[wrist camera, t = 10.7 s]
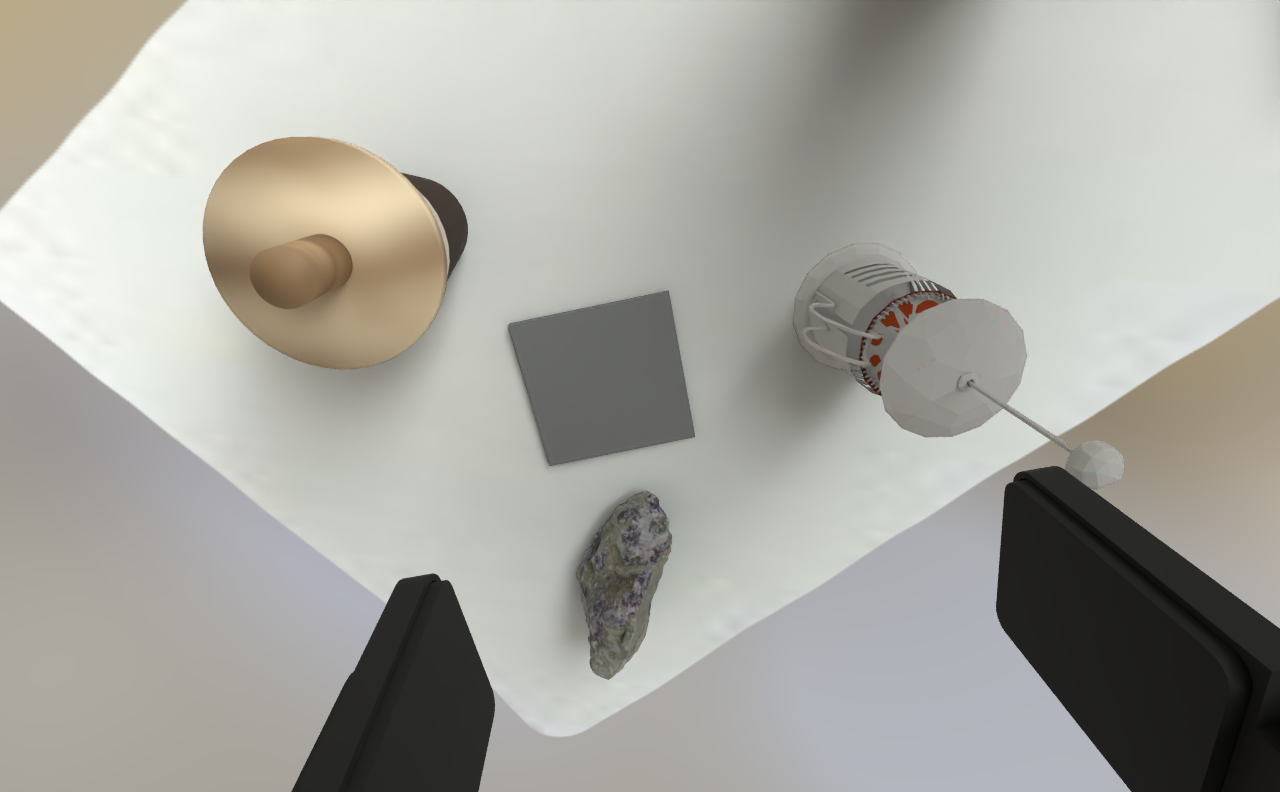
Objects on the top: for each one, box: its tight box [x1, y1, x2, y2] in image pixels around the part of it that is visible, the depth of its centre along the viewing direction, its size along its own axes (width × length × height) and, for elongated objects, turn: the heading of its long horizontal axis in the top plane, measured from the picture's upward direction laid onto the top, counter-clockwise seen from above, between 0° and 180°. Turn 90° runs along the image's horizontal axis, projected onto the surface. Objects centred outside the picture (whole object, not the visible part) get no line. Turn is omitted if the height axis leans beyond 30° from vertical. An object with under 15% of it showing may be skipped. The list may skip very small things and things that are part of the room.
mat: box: [509, 291, 695, 466], centre depth 47 cm, size 12×12×1 cm
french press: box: [793, 244, 1124, 490], centre depth 34 cm, size 10×12×25 cm
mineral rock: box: [576, 491, 672, 680], centre depth 49 cm, size 13×11×10 cm
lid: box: [203, 137, 447, 369], centre depth 30 cm, size 12×12×6 cm
